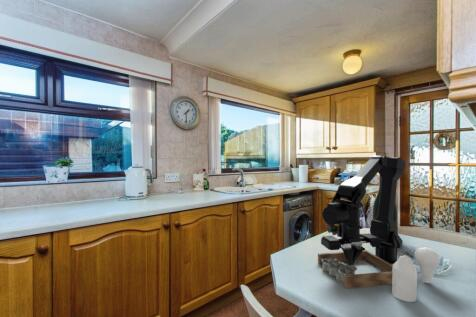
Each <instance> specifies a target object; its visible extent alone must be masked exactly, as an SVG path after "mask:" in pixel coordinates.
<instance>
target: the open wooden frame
mask: <svg viewBox="0 0 476 317" xmlns="http://www.w3.org/2000/svg"><path fill="white" fill-rule="evenodd" d="M325 258H326V259H330V258H332V260H333V259H334V258H335V259H337V261H340V262H343V263H347V260H346V257H345V255H344V252H343V251H335V252H333V251H332V252H320V253H319V252H318V253H317V263H318V264H319V265H323V262H322V260H321V259H325ZM361 261H366V262H367V263H369V264H370V265H372V266H374V267H375V268H377V269H378V270H380V271H381V272H377V271H376V272H370V273H369V272H367V273H355V274H354V275H346V274H345V275H344V282H343V288H344V289H345V290H346V289H347V290H348V289H357V288H367V287H377V286H388V285H392V269H393V264H390V263H388V262H386V261H384V260H383V259H381V258H379V257H378V256H376V255H375V254H374V253H373V252H370V251H369V250H367V249H365V250H363V251H362V252H361V254H360V255H359V257H358V258H357V260H356V261H355V262H361Z"/></svg>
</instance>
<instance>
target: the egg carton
mask: <svg viewBox="0 0 476 317" xmlns="http://www.w3.org/2000/svg"><path fill="white" fill-rule="evenodd" d="M321 260H322V262H323V264H322V271H325V272H328V275H330V276H334V277H335V280H337V281H338V282H342V283H344V275H354V274H356V271H357V270H358V268H357V267H356V266H355V265H350V266H349V265H348V263H346V262H340V261H337V259H335V258H334V259H333V260H332V258H330V259H326V258H325V259H321ZM339 270H340V271H342V272H339ZM343 272H345V273H343Z"/></svg>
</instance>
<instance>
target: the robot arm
mask: <svg viewBox="0 0 476 317" xmlns="http://www.w3.org/2000/svg"><path fill="white" fill-rule="evenodd" d="M405 169H406V161H405V160H403V158H402V157H398V156H396V157H395V156H393V157H389V156H385V155H371V156H369V157H368V161H367V162H366V163H365V164H364V165H363V166H362V168H360V169H359V170H358V171H357V173H356V174H355V175H354V176H353V177H351V178H349V179H346V180H344V181H343V182H342V183H340V184H339V186H338V187H337V190H336V192H335V194H334V196H333V198H332V199H331V202H327V204H326V205H327V206H326V207H325V208H324V209H323V210H322V213H321V215H322V219H323V221H324V222H325V223H326V224H327V225H326V230H327V233H329V234H330V233H332V235H323V236H322V237H321V239H320V244H321V246H323V247H324V248H326V249H327V250H329V251H339V250H340V249H341V250H342V252H344V255H345V257H346V260H347V262H346V264H348V265H349V266H350V265H353V266H355V263H356V262H357V261H356V260H357V258H358V257H359V255H360V254H361V252H362V251H363V250H366V248H365V247H364V246H363V244H369V245H370V246H371V247H372V248H375V254H374V255H376V256H378V257H379V258H381V259H383V260H384V261H386V262H388V263H390V264H391V265H393V264H394V263H395V262H396V261H397V260H398V249H399V250H400V249H401V248H402V247H403V239H402V238H401V237H400V235H399V233H398V234H397V226H396V224H395V222H394V220H393V214H394V205H395V202H396V195H397V184H398V181H399V179H401V178H402V176H403V175H404V171H405ZM377 174H379V175H380V176H381V178H382V183H381V192H380V201H379V209H378V216H377V217H376V219H375V220H372V219H371V221H370V227H369V233H361V230H363V225H361V224H360V223H361V217H360V216H361V211H360V210H361V209H360V208H363V207H364V206H365V205H364V204H363V203H362V202H361V201H362V200H363V199H364V197H365V195H366V194H367V186H368V185H369V184H370V183H371V181H372V180H373V179H374V178H375V177H376V175H377ZM380 176H379V177H380ZM335 236H337V237H339V238H336V237H335Z"/></svg>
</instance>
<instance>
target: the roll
mask: <svg viewBox="0 0 476 317" xmlns="http://www.w3.org/2000/svg"><path fill="white" fill-rule="evenodd" d="M392 265H393V269H392V284H391V285H392V286H391V288H392V289H391V292H392V296H393V297H394V298H396V299H397V300H400V301H403V302H407V303H413V302H416V301H417V299H418V298H417V297H418V296H417V294H418V293H417V292H418V271H417V269H416V266H415V264H414V262H413V261H412V259H411V258H410V256H408V255H406V254H405V255H399V257H398V258H397V261H396V262H395V263H394V264H392Z"/></svg>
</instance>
